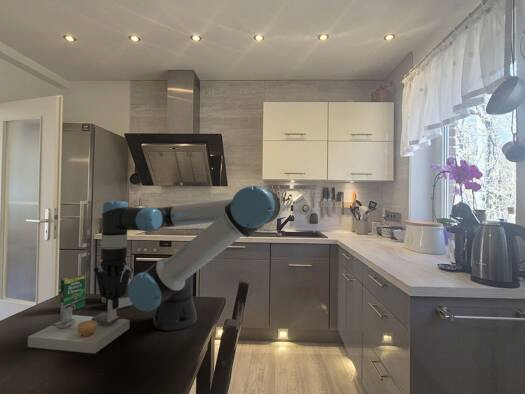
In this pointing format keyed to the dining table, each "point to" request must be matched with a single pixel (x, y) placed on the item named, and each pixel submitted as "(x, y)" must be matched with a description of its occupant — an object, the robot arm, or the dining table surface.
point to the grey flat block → (104, 319)
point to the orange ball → (87, 328)
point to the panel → (78, 336)
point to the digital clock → (125, 299)
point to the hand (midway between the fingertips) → (111, 318)
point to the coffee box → (73, 292)
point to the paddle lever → (66, 318)
